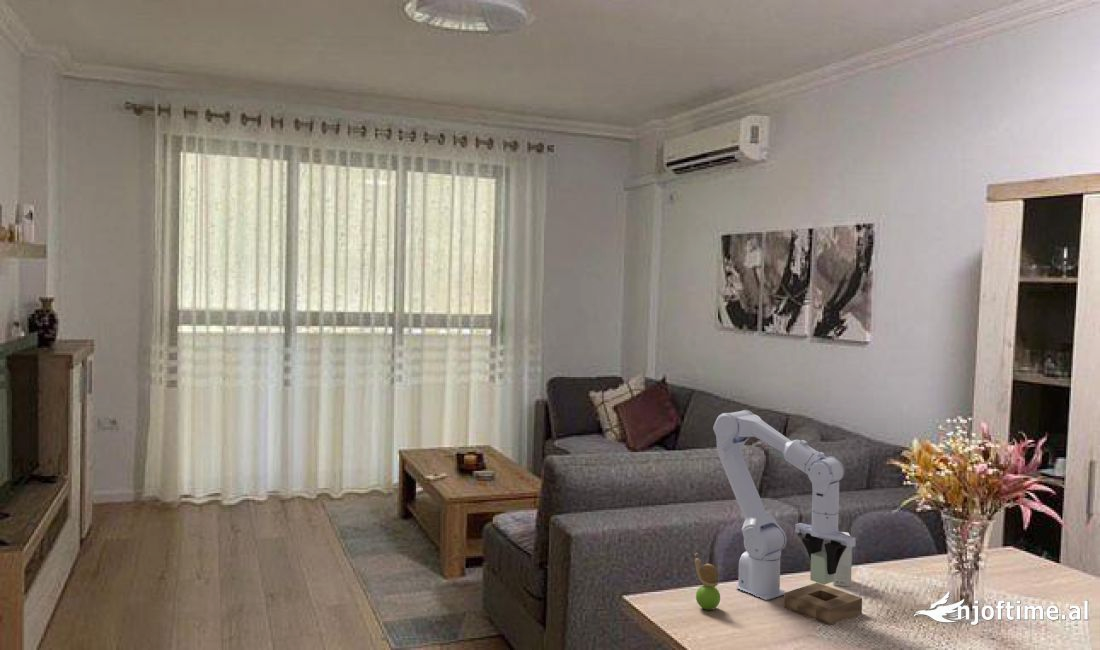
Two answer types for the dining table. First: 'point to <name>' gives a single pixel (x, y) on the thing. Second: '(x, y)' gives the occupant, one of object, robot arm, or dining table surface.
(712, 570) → the snail figurine
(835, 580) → the skincare box
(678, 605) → the dining table surface
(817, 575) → the sage peg
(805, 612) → the walnut socket block
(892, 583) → the dining table surface
